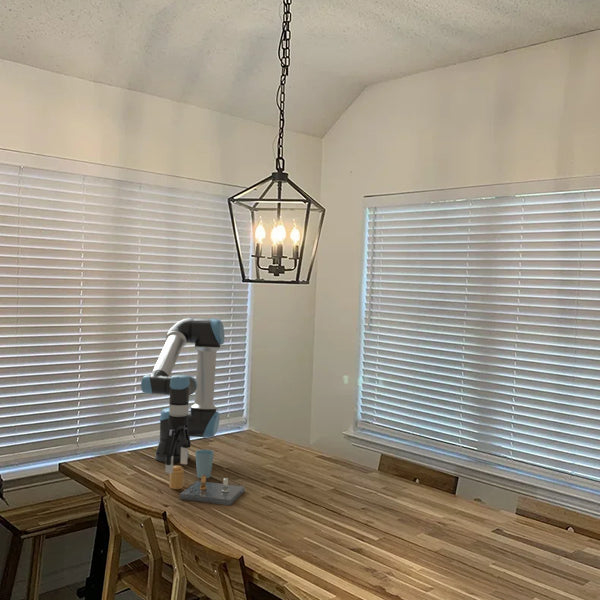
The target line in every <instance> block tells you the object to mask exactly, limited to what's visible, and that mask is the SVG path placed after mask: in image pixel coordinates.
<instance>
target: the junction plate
mask: <svg viewBox="0 0 600 600" xmlns="http://www.w3.org/2000/svg"><path fill="white" fill-rule="evenodd" d="M200 479H201V480H197V481H195V482H193V483H192V484H191V485H189V486H188V487H187V488H186V489H184V490H183V491H182V492H180V493H179V499H180V500H185V501H191V502H192V501H194V502H202V503H209V504H217V505H224V506H231V505H233V504H234V502H235V501H237V499H239V498H240V497H241V495H242V494H244V493H245V486H243V485H241V486H240V485H235V484H229V478H228V477H223V478H222V479H223V480H222V483H218V482H209V481H207V478H206V475H202V476H201V478H200Z"/></svg>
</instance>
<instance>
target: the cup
mask: <svg viewBox="0 0 600 600" xmlns="http://www.w3.org/2000/svg"><path fill="white" fill-rule="evenodd" d="M214 454H215V452H214V450H211V449H198V450H196V451H195V454H194V455H195V464H196V465H195V466H196V477H197V478H198V479H201V476H202V475H206V479H210V478H211V475H212V469H213V462H214V456H215V455H214Z"/></svg>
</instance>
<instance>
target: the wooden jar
mask: <svg viewBox="0 0 600 600" xmlns="http://www.w3.org/2000/svg"><path fill="white" fill-rule="evenodd" d="M184 473H185V472H184V468H183V466H182V465H179V464H177V465H173V473H169V485H168V486H169V488H170V489H173V490H180V489H183V488H184V482H185V481H184V480H185V479H184V477H185V476H184V475H185V474H184Z"/></svg>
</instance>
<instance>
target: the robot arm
mask: <svg viewBox="0 0 600 600" xmlns="http://www.w3.org/2000/svg"><path fill="white" fill-rule="evenodd" d="M167 331H168V332H167V334H166V337H165V344H164V345H163V347H162V350H161V352H160V353H159V356H158V359H157V361H156V363H155V365H154V367H153V370H152V372H151V374H145V375H144V376H142V378H141V382H140V389H141V391H142V393H143V394H147V395H148V394H149V395H163V396H164V395H165V396H169V402H168V403H169V405H168V407H166V408H164V409H162V410H161V411H160V419H159V441H158V445H157V448H156V450H155V454H154V455H155V456H154V459H155V460H156V461H158V462H162V463H165V469H164V470H165V473H166V474H170V473H173V466H174V463H178V462H179V463H180V465H188V461H189V460H188V459H189V456H190V453H189V448H191V445H192V443H191V438H193V437H194V438H203V439H205V438H213V437H214V436H215V435H216V434H217V431H218V429H219V424H220V420H221V419H220V418H221V417H220V416H221V415H220V412H218V411H217V407H216V406H215V404H214V399H215V398H214V396H215V383H216V382H215V380H216V366H217V352H218V351H219V350H220V349H221V346H222V345H223V344H224V343H225V328H224V325H223V322H222V320H221V319H218V318H212V317H211V318H202V317H186V318H183V319H181V320H179V321H177V322H176V323H175V324H174V325H172V327H171V328H170V329H169V330H167ZM188 343H189V344H190V343H191V344H194V348H195V349H196V350H197V356H196V372H195V373H196V374H195V375H196V376H195V377H193V376H190V375H186V374H174V375H172V372H173V369H174V368H175V364H176V363H177V360H178V358H179V355H180V353H181V351H182V349H183V348H184V347H186V345H187V344H188ZM193 394H194V402H193V404H192V405H191V406H189V405H190V403H189V400H190V396H192V395H193ZM189 407H190V409H189ZM190 437H191V438H190Z"/></svg>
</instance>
